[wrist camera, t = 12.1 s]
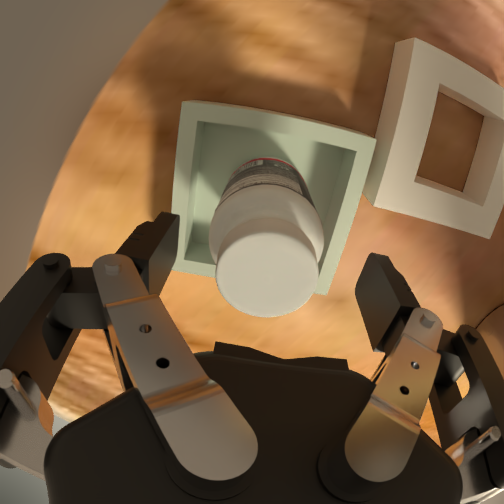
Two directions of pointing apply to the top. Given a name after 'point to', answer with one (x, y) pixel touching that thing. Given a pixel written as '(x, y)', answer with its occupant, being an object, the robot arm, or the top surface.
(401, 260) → the top surface
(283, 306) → the pill bottle
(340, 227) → the parts tray
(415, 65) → the socket block
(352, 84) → the top surface
